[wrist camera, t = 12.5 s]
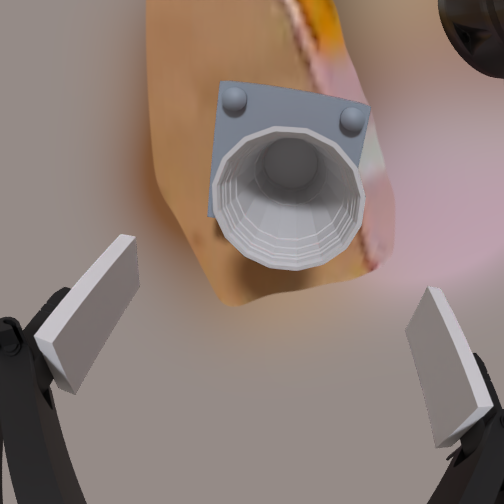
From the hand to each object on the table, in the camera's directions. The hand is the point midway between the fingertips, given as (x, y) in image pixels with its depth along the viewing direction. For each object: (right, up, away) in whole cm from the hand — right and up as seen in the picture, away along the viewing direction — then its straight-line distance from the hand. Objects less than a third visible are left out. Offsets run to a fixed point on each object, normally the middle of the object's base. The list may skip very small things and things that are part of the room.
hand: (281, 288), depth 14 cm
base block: (+3, +13, +23) cm, 26 cm away
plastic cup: (+3, +11, +19) cm, 22 cm away
